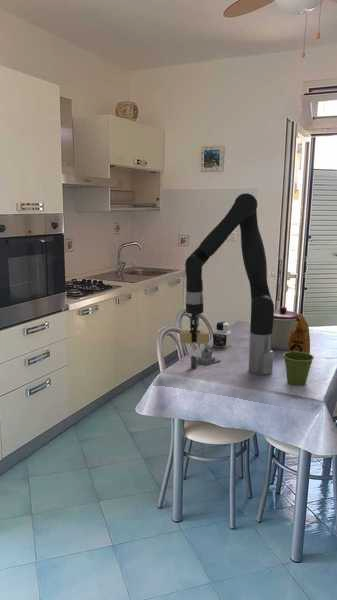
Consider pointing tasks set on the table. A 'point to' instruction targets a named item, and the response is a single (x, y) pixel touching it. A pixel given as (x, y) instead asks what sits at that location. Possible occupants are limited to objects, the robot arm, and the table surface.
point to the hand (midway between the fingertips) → (194, 339)
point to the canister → (282, 328)
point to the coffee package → (299, 337)
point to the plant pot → (297, 367)
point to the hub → (207, 356)
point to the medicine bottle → (222, 335)
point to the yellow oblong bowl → (201, 337)
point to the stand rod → (193, 362)
